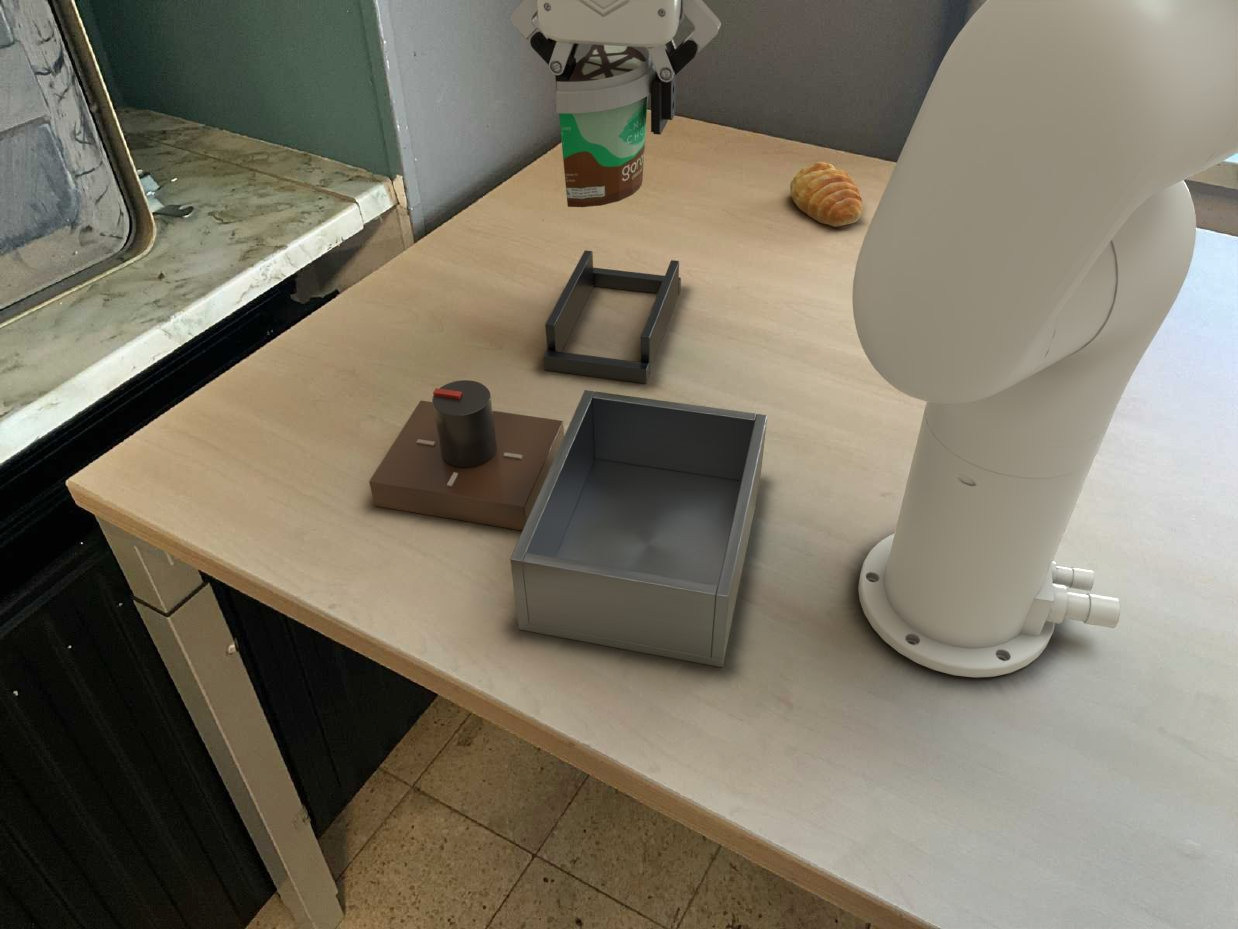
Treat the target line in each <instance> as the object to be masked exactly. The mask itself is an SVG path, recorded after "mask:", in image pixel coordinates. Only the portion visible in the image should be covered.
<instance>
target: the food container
mask: <svg viewBox="0 0 1238 929" xmlns="http://www.w3.org/2000/svg"><path fill="white" fill-rule="evenodd" d="M655 71H656V69H655V67H654V64H653V62H652V60H651V57H650V55H649V52H648V50H647V47H630V46H611V45H594V44H591V46H590V48H589V50H588V51H587V53H586V55H584V56H582V58H580V59H579V60H578V61H577V65H576V67H575V69H574V71H573V73H572V75H571V77H570V79H569V81H568V82H556V81H555V85H556V84H557V92H556V91H555V112H556V114H558V119H559V128H560V140H561V150H562V160H563V169H564V170H563V171H564V172H563V173H564V182H565V194H566V203H567V204H566V205H567V207H568V208H589V207H590V208H591V207H601V206H605V205H610V204H614V203H618V202H620V201H623V200H625V199H627V198H630V197H631V196H634V195H635V193H637V192H638V191H639V190H640V188H641V187H642V185H643V182H644V180H643V179H644V165H645V164H644V163H645V152H646V151H645V149H646V133H647V121H648V120H647V119H648V104H649V95H651V83H652V81H653V79H654V78H655Z"/></svg>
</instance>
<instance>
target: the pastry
mask: <svg viewBox="0 0 1238 929" xmlns="http://www.w3.org/2000/svg"><path fill="white" fill-rule="evenodd" d="M789 189H790V194H791V198H792V201H793V202H794V203H795V205H796V206H797V208H798V209H800V210H801V211H802V212H803V213H805V214H807V215H808V216H809V218H812V219H813V220H814V221H817V222H818V223H820V224H824V225H829V226H831V227H834V228H836V227H842V226H844V225H851V224H854V223H857V222H858V221H859V219H860V218H861V216H863V214H864V209H863V208H864V207H863V198H862V197H861V193H860V189H859V188H858V186H857V184H856V183H855V181H854V179H853V178H852V177H851V176H850V175H849V174H848V173H847V171H846V170H844V169H840V168H839V169H836V168H835V167H834V165H833V164H831V163H829V162H824V161H818V162H812V163H811V164H809V165H807V166H806V167H803V168H801V169H800V170H798V172H797V173H796V174H795V176H794V177H793V179H792V180H791V182H790V185H789Z"/></svg>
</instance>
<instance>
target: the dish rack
mask: <svg viewBox="0 0 1238 929" xmlns="http://www.w3.org/2000/svg"><path fill="white" fill-rule="evenodd" d="M593 254H594V252H593V250H584V251H583V253H582V254H581V256H580V258H579V260H578V262H577V264H576V265H575V268H574V269H573V271H572V273H571V275H570V277H569V279H568V281H567V282H566V284H565V287H564V288H563V290H562V292H561V294H560V296H559V298H558V299H557V301H556V303H555V305H554V307H553V309H552V311H551V313H550V315H549V317H548V318H547V320H546V322H545V325H544V327H545V338H546V339H545V340H546V350H545V351H544V353H543V356H542V360H543V361H542V362H543V370H544V371H550V372H558V373H564V374H572V375H579V376H586V377H593V378H602V379H609V380H617V381H624V382H630V383H637V384H638V383H639V384H644V385H645V384H647V383H648V380H649V377H650V374H651V372H652V369H653V366H654V364H655V361H656V358H657V356H658V353H659V350H660V348H661V345H662V342H663V339H664V337H665V334H666V331H667V329H668V325H669V323H670V320H671V318H672V315H673V313H674V309H675V306H676V304H677V301H678V299H679V296H680V293H681V290H682V288H681V287H682V277H680V261H679V260H675V259H671V260H670V262H669V264H668V267H667V270H666V272H665V275H663V274H653V273H645V272H638V271H637V272H635V271H627V270H619V269H610V268H601V267H594V255H593ZM595 287H598V288H599V287H600V288H608V289H617V290H626V291H634V292H643V293H651V294H656V298H655V300H654V301H653V304H652V307H651V309H650V312H649V315H648V318H647V319H646V322H645V325H644V328H643V330H642V332H641V335H640V361H633V360H627V359H620V358H619V359H618V358H611V357H603V356H595V355H588V354H580V353H572V352H564V351H563V350H564V349H565V346H566V344H567V342H568V340H569V338H570V337H571V335H572V332H573V330H574V328H575V326H576V324H577V323H578V321H579V318H580V316H581V314H582V312H583V310H584V308H585V306H586V304H587V302H588V300H589V298H590V296H591V294H592V291H593V290H594V288H595Z"/></svg>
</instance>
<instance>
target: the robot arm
mask: <svg viewBox="0 0 1238 929" xmlns="http://www.w3.org/2000/svg"><path fill="white" fill-rule="evenodd" d="M685 17H686V19H687V20H688V21H690V23H691V24H692V25H693V27H694V30H693V31H692V32H691V33H690V35H688V36H687V37H686V38H685V39H684V40H683V41H682V42H680V44H679V45H678V46H677V45H676V43H675V40H674V37H675V36H676V35H677V32H678V28H679V26H681V24H682V23H683V22H684V20H685ZM509 21H510V23H511V25H512V27H514V28H515V30H517V31H518V33H519V34H520V35H522V36H523V38H524V39H525V40H526V41H528V42H529V44H530V47H531V48H532V49H533V50H534V51H535V53H536V54H537V55H538V56H539V57H540V58H541V59H542V60H543V61H544V62H545V63H546V64H547V66H548V70H549V71H550V73H551V74H553V76H554V78H555V88H556V89H555V93H556V92H557V84H556V82H568V81H569V79H570V77H571V75H572V73H573V71H574V69H575V67H576V65H577V63H578V61H577V58H576V53H577V51H578V47H579V45H581V44H582V45H592V44H594V45H611V46H630V47H647V50H648V52H649V55H650V57H651V60H652V62H653V64H654V67H655V78H654V79H653V81H652V83H651V93H650V133H653V135H659V136H660V135H662V134H663V131H664V129H665V127H666V126H667V124H668V122H669V121H673V119H674V118H675V115H676V114H675V113H676V90H677V89H676V88H677V87H676V84H677V83H676V80H677V79H676V78H677V74H679V73H680V72H681V71H682V70H683V69H684V68H685V67H687V65H688V64H689V63H690V62H691V61H692V60H694V58H695V57H696V56H697V55H698V54H699V53H700V52H701V51H702V50H703V49H704V48H705V47H706V46H707V45H708V44H709V43H710V42H712V40H713V39H714V38H716V36H717V35H718V34H719V31H720V30H721V28H722V21H721V20H720V19H719V18H718V16H717V15H716V14H715V13H714V12H713V11H712V10H711V9H710V8H709V6H708V5H707V4H706V3H705V2H704V1H703V0H522V2H520V4H519V5H518V6H517V7H516V8H515V10H514V11H512V13H511V14H510V16H509ZM923 99H924V100H923V102H922V104H921V107H920V108H919V111H918V113H917V116H916V118H915V120H914V122H913V124H912V126H911V129H910V131H909V134H908V136H907V138H906V141H905V142H904V145H903V148H902V149H901V152H900V154H899V156H898V159H897V160H896V163H895V165H894V167H893V170H892V172H891V175H890V177H889V179H888V182H887V184H886V186H885V188H884V190H883V193H882V195H881V197H880V200H879V202H878V204H877V206H876V208H875V211H874V213H873V216H872V218H871V221H870V223H869V225H868V228H867V230H866V233H865V235H864V238H863V241H862V244H861V247H860V250H859V253H858V256H857V259H856V265H855V270H854V275H853V280H852V281H853V282H852V296H851V297H852V313H853V319H854V325H855V330H856V333H857V337H858V340H859V343H860V345H861V348H862V350H863V352H864V354H865V356H866V358H867V359H868V361H869V363H870V365H872V367H873V368H874V370H875V371H876V372H877V373H878V374H879V375H880V376H881V377H882V379H883V380H884V381H886V382H887V383H888V384H889V385H891V387H893V388H895V389H896V390H897V391H899V392H901V393H902V394H905V395H907V396H909V397H911V398H914V399H917V400H920V401H924V402H925V406H924V407H925V408H924V411H923V416H922V418H921V423H920V427H919V432H918V436H917V439H916V443H915V449H914V452H913V456H912V460H911V465H910V469H909V473H908V477H907V481H906V485H905V489H904V493H903V497H902V501H901V506H900V510H899V514H898V518H897V521H896V527H895V530H894V533H891V534H890V535H888V536H886V537H884V538H883V539H881V540H879V541H878V542H877V544H876V545H874V546H873V548H871V549H870V551H869V553H868V554H867V556H866V557H865V559H864V561H863V563H862V566H861V570H860V575H859V580H858V586H857V588H858V589H857V590H858V597H859V603H860V606H861V608H862V611H863V614H864V616H865V617H866V619H867V621H868V623H869V624H870V626H871V627H872V629H873V630H874V631H875V632H876V633H877V635H878V636H879V637H880V638H881V639H882V640H883V641H884V642H885V643H886V644H888V645H889V646H890V647H891V648H892V649H894V650H895V651H897V653H898V654H900V655H902V656H904V657H906V658H907V659H909V660H911V661H913V662H914V663H916V664H919V665H920V666H923V667H926V668H928V669H930V670H932V671H936V672H940V673H944V674H947V675H952V676H959V677H965V678H966V677H967V678H992V677H993V678H994V677H999V676H1002V675H1003V676H1004V675H1007V674H1011V673H1014V672H1016V671H1018V670H1021V669H1023V668H1025V667H1027V666H1028V665H1029V664H1031V663H1033V662H1034V661H1035V660H1036V659H1038V658H1039V656H1040V655H1041V654H1042V653H1043V651H1044V650H1045V649H1046V648H1047V647H1048V644H1049V642H1050V640H1051V637H1052V635H1053V633H1054V631H1055V626H1056V624H1062V623H1063V621H1064V619H1067V620H1073V621H1078V622H1082V623H1083V624H1085V625H1091V626H1098V627H1102V628H1103V627H1104V628H1110V629H1115V628H1116V627H1117V625H1118V623H1119V621H1120V616H1121V602H1120V599H1119V598H1118V597H1113V596H1106V595H1101V594H1096V593H1095V594H1094V593H1085V594H1084V593H1078V592H1071V591H1068V588H1069V589H1074V590H1081V591H1086V592H1087V591H1089V592H1091V591H1092V589H1093V585H1094V582H1095V572H1094V570H1091V569H1085V568H1084V569H1083V568H1078V567H1065V566H1060V565H1057V562H1056V560H1054V559H1055V557H1056V554H1057V552H1058V549H1059V547H1060V544H1061V542H1062V539H1063V537H1064V535H1065V532H1066V530H1067V527H1068V525H1069V522H1070V520H1071V518H1072V515H1073V512H1074V510H1075V507H1076V504H1077V502H1078V500H1079V497H1080V495H1081V492H1082V489H1083V487H1084V485H1085V483H1086V480H1087V478H1088V475H1089V473H1090V470H1091V467H1092V465H1093V463H1094V460H1095V457H1096V456H1097V454H1098V452H1099V450H1100V449H1101V445H1102V443H1103V441H1104V438H1105V435H1106V433H1107V431H1108V428H1109V426H1110V425H1111V421H1112V419H1113V416H1114V414H1115V412H1116V409H1117V407H1118V405H1119V403H1120V400H1121V399H1122V396H1123V394H1124V392H1125V390H1126V388H1127V386H1128V385H1129V384H1128V383H1129V382H1130V380H1131V378H1132V376H1133V374H1134V373H1135V371H1136V369H1137V367H1138V365H1139V363H1140V362H1141V360H1142V359H1143V357H1144V355H1145V353H1146V351H1147V350H1148V348H1149V347H1150V345H1151V343H1152V342H1153V340H1154V339H1155V336H1157V333H1158V331H1159V330H1160V328H1161V326H1162V325H1163V323H1164V322H1165V319H1166V318H1167V316H1168V315H1169V313H1170V311H1171V309H1172V307H1173V306H1174V304H1175V302H1176V300H1177V299H1178V297H1179V294H1180V292H1181V290H1182V288H1183V286H1184V283H1185V281H1186V278H1187V276H1188V273H1189V271H1190V268H1191V265H1192V261H1193V257H1194V252H1195V248H1196V239H1197V217H1196V211H1195V206H1194V201H1193V199H1192V196H1191V193H1190V190H1189V188H1188V186H1187V184H1186V181H1185V180H1186V179H1188V178H1191V177H1193V176H1196V175H1197V174H1199V173H1201V172H1202V173H1203V172H1204V171H1206V170H1208V169H1210V168H1212V167H1215V166H1216V165H1218V164H1220V163H1222V162H1224V161H1226V160H1228V159H1229V158H1231V157H1233V156H1235V155H1236V154H1238V0H986V1H985V2H984V3H982V5H981V6H980V7H979V8H978V9H977V10H976V11H975V13H973V14H972V16H971V17H970V18H969V19H968V21H967V22H966V23H965V25H964V26H963V27H962V28H961V30H960V31H959V32H958V34H957V35H956V37H955V38H954V40H953V41H952V43H951V45H950V47H949V48H948V49H947V52H946V53H945V55H944V57H943V59H942V61H941V62H940V65H939V67H938V69H937V71H936V73H935V75H934V77H933V80H932V81H931V84H930V86H929V88H928V90H927V93H926V95H925V97H924V98H923ZM1067 587H1068V588H1067Z"/></svg>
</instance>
